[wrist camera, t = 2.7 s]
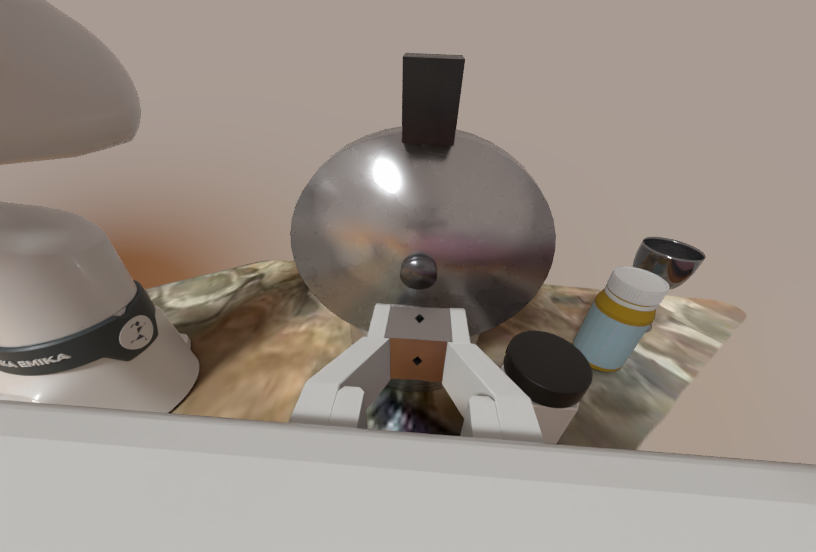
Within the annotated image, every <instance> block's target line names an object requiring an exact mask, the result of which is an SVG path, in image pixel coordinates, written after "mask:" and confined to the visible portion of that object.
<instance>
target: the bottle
mask: <svg viewBox="0 0 816 552" xmlns="http://www.w3.org/2000/svg"><path fill="white" fill-rule="evenodd" d="M668 291H669V284H668V283H667V282H666V281H665V280H664V279H663V278H661V277H659V276H658V275H656V274H654V273H652V272H649V271H646V270H643V269H640V268H636V267H629V266H621V267H617V268H615V270H614V271H613V272H612V274H611V276H610V278H609V280H608V282H607V285H606V287H605V289H604V290H602V291H601V292H600V293H599V294H598V295H597V296H596V298H595V300H594V302H593V304H592V306H591V308H590V310H589V312H588V314H587V316H586V318H585V320H584V322H583V324H582V325H581V327H580V329H579V331H578V333H577V335H576V337H575V339H574V342H573V345H574V346H575V347H576V348H577V349H579V350H580V351H581V352H582V354H583V355H584V356H585V357H586V359H587V360H588V362H589V364H590V366H591V368H592V369H595V370H597V371H602V372H615V371H617V370H619V369H620V368H621V367H622V366H623V364H624V363H625V361H626V360H627V358H628V357H629V355H630V354H631V352H632V351H633V350H634V348H635V347H636V345H637V344H638V342H639V341H640V339H641V338H642V336H643V335H644V333H645V332H646V331H647V329H648V328H649V326H650V325H651V323H652V322H653V320H654V318H655V312H656V308H657V307H658V306H659V303H661V301H662V300H663V298H664V297H665V295H666V294H667V292H668Z"/></svg>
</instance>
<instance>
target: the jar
mask: <svg viewBox="0 0 816 552" xmlns="http://www.w3.org/2000/svg"><path fill="white" fill-rule="evenodd" d="M505 353H506V355H505V358H504V363H503V365H502V367H501V370H502V371H503V372H504V373H505V374H506V375H507V376H508V377H509V378H510V379H511V380H512V381H513V382H514V383H515V384H516V385H517V386H518V387H519V388H520V389H521V390H522V391H523V392H524V393H525V394H526V395H527V396H528V397H529V398H530V399H531V402H532V405H533V408H534V411H535V415H536V418H537V421H538V424H539V427H540V430H541V433H542V436H543V439H544V442H545V443H550V444H557V442H558V441H559V439H560V438H561V436H562V435H563V433H564V431H565V430H566V428H567V427H568V425H569V424H570V422H571V420H572V419H573V417H574V416H575V414H576V413H577V411H578V408H579V402H580V400H581V398H582V397H583V395H584V394H585V392H586V390H587V389H588V387H589V386H590V384H591V382H592V376H593V374H592V369H591V366H590V364H589V362H588V360H587V359H586V357H585V356H584V355H583V354H582V352H581V351H580V350H579V349H577V348H576V347H575V346H574V345H572V344H571V343H570V342H568V341H566V340H564V339H563V338H561V337H558V336H556V335H553V334H550V333H547V332H542V331H526V332H522V333H520V334H518V335H516V336H515V337H513V338H512V340H511V341H510V343H509V345H508V347H507V350H506V352H505Z"/></svg>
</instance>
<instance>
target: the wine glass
mask: <svg viewBox="0 0 816 552" xmlns="http://www.w3.org/2000/svg"><path fill="white" fill-rule="evenodd" d="M704 259H705V254H704V253H703V252H701V251H700V250H699V249H697V248H695V247H693V246H691V245H688V244H685V243H683V242H680V241H676V240H672V239H667V238H661V237H647V238H645V239H644V240H643V241H642V243H641V245H640V246H639V249H638V251H637V253H636V256H635V259H634V262H633V267H636V268H640V269H643V270H646V271H649V272H652V273H654V274H656V275H658V276H659V277H661V278H663V279H664V280H665V281H666V282H667V283H668V284H669V290H670V289H674V288H676V287H678V286H680V285H681V284H683V283H684V282H685V281H686V280H687V279H689V278H690V277H691V276H692V275H693V274H694V273H695V271H696V270H697V269H698V267H699V266H700V265H701V264H702V262H703V261H704ZM651 329H652V324H651V325H650V326H649V328H648V329H647V331H646V332H649V331H650V330H651Z"/></svg>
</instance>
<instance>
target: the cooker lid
mask: <svg viewBox="0 0 816 552" xmlns="http://www.w3.org/2000/svg"><path fill="white" fill-rule="evenodd" d="M464 63H465V59H464V57H463V56H462V55H441V54H419V53H416V54H415V53H405V55H404V56H403V93H402V94H403V95H402V99H403V101H402V127H397V128H391V129H385V130H382V131H379V132H375V133H372V134H370V135H366V136H364V137H362V138H360V139H358V140H356V141H354V142H352V143H350V144H348V145H346V146H345V147H343V148H342V149H341V150H339V151H338V152H336V153H335V154H334V155H332V156H331V157H330V158H329V159H328V160H327V161H326V162H325V163H324V164H323V165H322V166H321V167H320V168H319V169H318V170H317V172H316V173H315V175H314V176H313V177H312V178H311V180H310V181H309V183H308V184H307V185H306V187H305V188H304V190H303V191H302V193H301V196H300V198H299V200H298V202H297V204H296V206H295V210H294V214H293V217H292V223H291V232H290V235H291V248H292V252H293V256H294V261H295V263H296V266H297V268H298V271H299V273H300V275H301V277H302V278H303V280H304V282H305V284H306V285H307V286H308V288H309V289H310V291H311V292H312V293H313V294H314V296H315V297H316V298H317V299H318V300H319V301H320V302H321V303H322V304H323V305H324V306H326V307H327V308H328V309H329V310H330V311H331V312H333V313H334V314H336V315H337V316H338V317H340V318H341V319H343V320H345V321H346V322H348V323H350V324H352V325H354V326H356V327H358V328H360V329H362V330H365V331H367V332H368V331H369V327H370V323H371V320H372V316H373V312H374V308H375V305H376V304H377V303H381V304H396V305H408V306H420V307H435V308H464V309H465V311H466V317H467V323H468V330H469V336H472V335H476V334H479V333H481V332H484V331H487V330H489V329H491V328H493V327H495V326H497V325H499V324H501V323H503V322H504V321H506V320H508V319H509V318H511V317H512V316H514V315H515V314H516V313H517V312H519V311H520V310H521V309H523V308H524V307H525V306H526V305H527V304H528V303H529V302H530V301H531V300H532V298H533V297H534V296H535V295H536V293H537V292H538V291H539V289H540V288H541V286H542V285H543V283H544V281H545V279H546V278H547V276H548V273H549V270H550V268H551V265H552V262H553V257H554V253H555V238H556V235H555V227H554V220H553V217H552V214H551V211H550V208H549V205H548V203H547V201H546V200H545V198H544V196H543V194H542V192H541V190H540V189H539V187H538V185H537V184H536V182H535V180H534V179H533V178H532V177H531V175H530V174H529V173H528V172H527V171H526V169H525V168H524V167H523V166H522V165H521V164H520V163H519V162H518V161H517V160H516V159H515V158H513V157H512V156H511V155H510V154H509V153H508V152H506V151H504V150H503V149H501V148H500V147H498V146H497V145H495V144H493V143H492V142H490V141H488V140H485V139H483V138H481V137H478V136H476V135H474V134H471V133H468V132H464V131H460V130H456V125H457V116H458V108H459V101H460V94H461V86H462V78H463V70H464Z"/></svg>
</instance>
